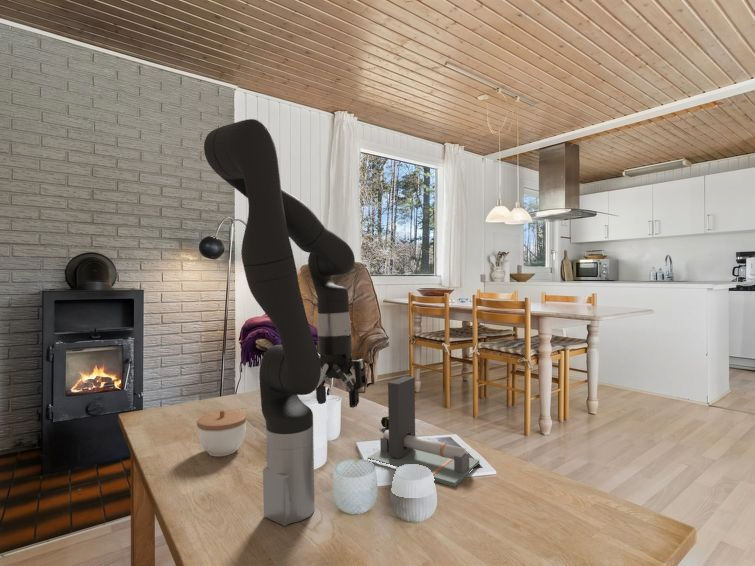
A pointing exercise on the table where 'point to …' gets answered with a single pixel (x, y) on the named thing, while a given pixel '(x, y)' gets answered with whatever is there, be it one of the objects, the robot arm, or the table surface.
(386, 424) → the tape measure
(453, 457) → the pipe stand
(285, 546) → the table surface
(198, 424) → the lidded bowl
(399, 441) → the dark grey upright pillar
